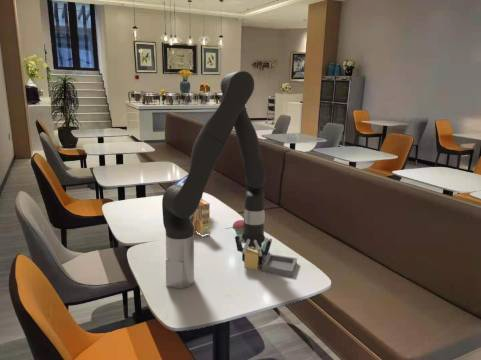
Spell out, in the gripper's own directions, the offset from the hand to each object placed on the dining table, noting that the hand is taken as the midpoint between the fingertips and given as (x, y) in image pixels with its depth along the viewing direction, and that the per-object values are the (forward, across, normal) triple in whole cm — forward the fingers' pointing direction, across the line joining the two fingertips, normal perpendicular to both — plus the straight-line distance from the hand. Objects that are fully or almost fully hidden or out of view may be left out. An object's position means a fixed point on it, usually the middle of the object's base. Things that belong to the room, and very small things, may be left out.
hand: (252, 262), depth 141 cm
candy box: (+1, -30, +22) cm, 38 cm away
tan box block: (+1, 0, 0) cm, 1 cm away
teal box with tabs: (+1, 0, +8) cm, 8 cm away
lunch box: (+1, -44, +38) cm, 58 cm away
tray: (+1, +10, +2) cm, 10 cm away
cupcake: (+1, -12, +26) cm, 29 cm away
